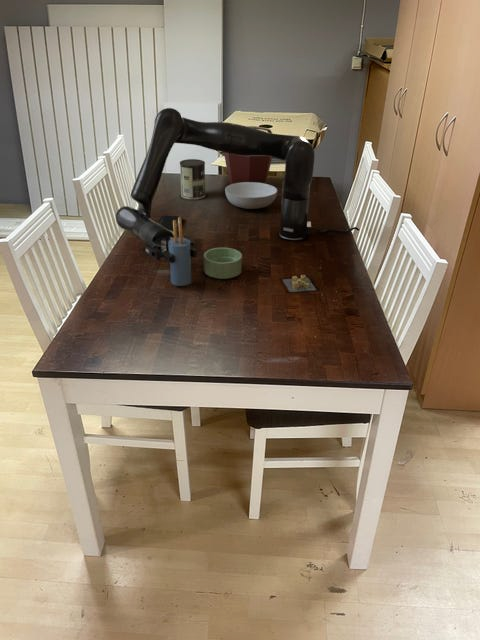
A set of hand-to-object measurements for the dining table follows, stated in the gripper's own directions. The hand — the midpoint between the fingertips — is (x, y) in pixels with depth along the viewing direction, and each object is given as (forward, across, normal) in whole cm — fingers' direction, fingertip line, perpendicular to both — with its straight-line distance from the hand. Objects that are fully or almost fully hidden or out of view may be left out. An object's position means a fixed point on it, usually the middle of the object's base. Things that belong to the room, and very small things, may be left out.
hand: (184, 256), depth 142 cm
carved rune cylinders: (+16, +29, +10) cm, 34 cm away
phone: (-45, +19, +10) cm, 50 cm away
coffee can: (-71, +44, +11) cm, 84 cm away
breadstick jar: (-2, 0, +8) cm, 9 cm away
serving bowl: (-48, +58, +11) cm, 76 cm away
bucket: (-71, +73, +11) cm, 103 cm away
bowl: (-3, +15, +10) cm, 18 cm away
